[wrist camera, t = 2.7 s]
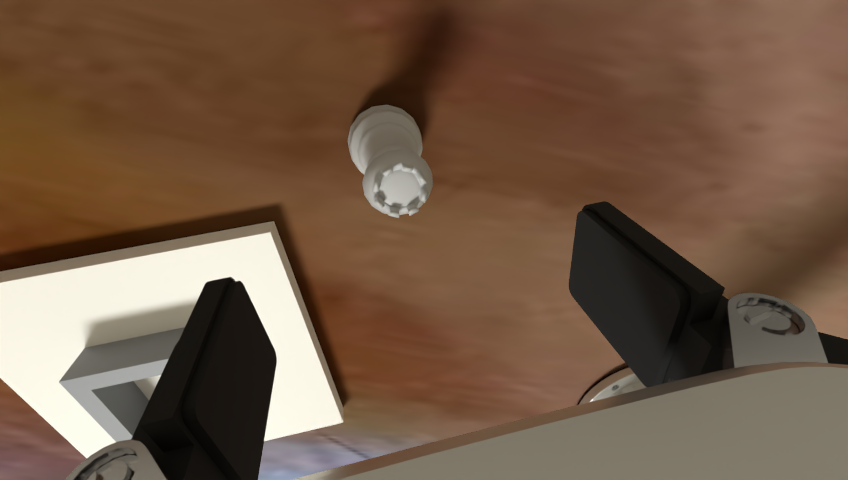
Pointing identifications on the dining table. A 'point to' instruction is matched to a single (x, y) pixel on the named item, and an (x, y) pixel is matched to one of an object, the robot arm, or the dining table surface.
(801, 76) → the dining table surface
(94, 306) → the socket board
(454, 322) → the dining table surface
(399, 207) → the rook chess piece
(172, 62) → the dining table surface
